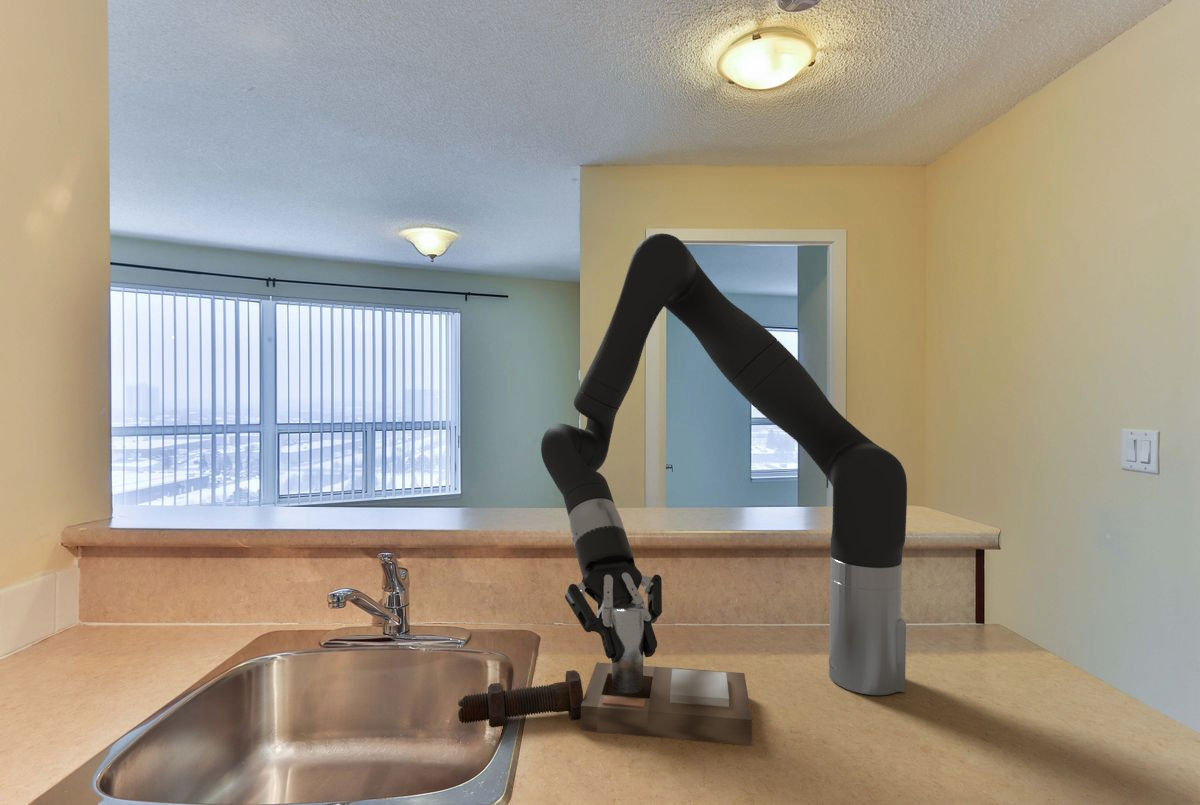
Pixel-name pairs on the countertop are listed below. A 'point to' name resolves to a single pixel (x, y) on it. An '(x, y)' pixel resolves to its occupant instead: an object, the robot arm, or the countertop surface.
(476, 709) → the bolt
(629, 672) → the peg
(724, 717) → the recessed board
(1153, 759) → the countertop surface
